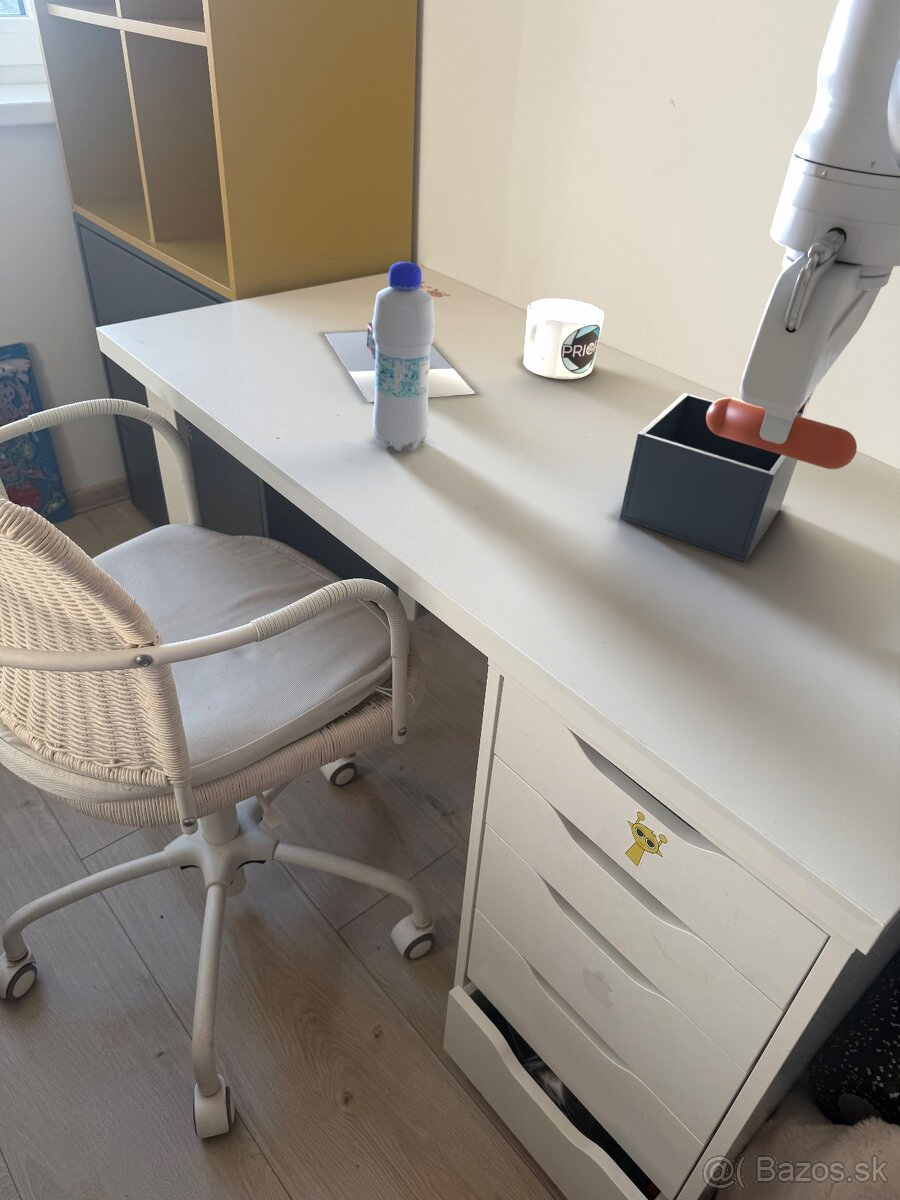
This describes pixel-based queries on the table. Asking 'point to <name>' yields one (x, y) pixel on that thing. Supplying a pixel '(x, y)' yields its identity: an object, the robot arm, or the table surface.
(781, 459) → the bin
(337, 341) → the shiny metal sheet
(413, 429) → the bottle
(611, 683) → the table surface
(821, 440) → the orange round-ended cylinder
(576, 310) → the mug
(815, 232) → the robot arm
